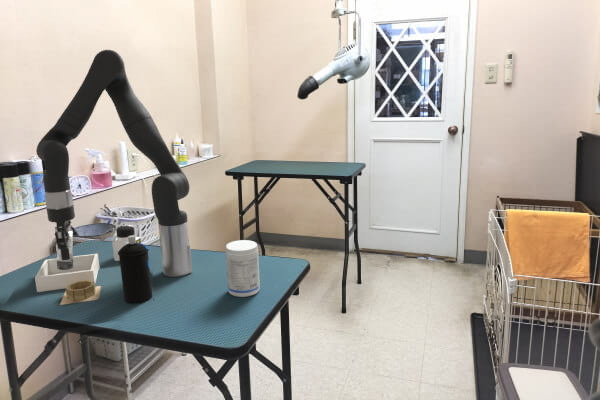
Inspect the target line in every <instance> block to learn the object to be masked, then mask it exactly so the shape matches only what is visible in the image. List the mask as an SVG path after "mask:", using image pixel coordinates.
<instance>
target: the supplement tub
mask: <svg viewBox="0 0 600 400" xmlns="http://www.w3.org/2000/svg"><path fill="white" fill-rule="evenodd" d="M259 259H260V258H259V247H258V243H257V242H255V241H253V240H249V239H241V240H238V239H237V240H234V241H233V240H232V241H231V242H228V243H227V244H226V245H225V263H226V264H225V265H226V277H227V290H228V293H229V294H230V295H231V296H233V297H238V298H245V297H246V298H247V297H250V296H254V295H256V294H257V293H258V292H260V289H261V286H260V285H261V284H260V265H259V264H260V263H259V262H260V260H259Z"/></svg>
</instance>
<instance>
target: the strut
mask: <svg viewBox="0 0 600 400" xmlns="http://www.w3.org/2000/svg"><path fill="white" fill-rule="evenodd" d="M69 237H70V240H69V241H68V246H69V254H70V259H69V260H62V257H61V250H60V249H58V246H57V245H56V246H57V247H56V248H57V249H56V252H57V253H56V256H57V257H56V258H57V269H60V270H68V269H71V268H73V254H74V251H73V250H74V231H73V229H72V228H71V229H70V231H69ZM66 238H67V236H66ZM61 245H64V243H61Z"/></svg>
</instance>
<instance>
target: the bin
mask: <svg viewBox="0 0 600 400" xmlns="http://www.w3.org/2000/svg"><path fill="white" fill-rule="evenodd" d="M99 260H100V259H99V254H98V253H92V254H84V255H83V254H82V255H76V256H75V255H74V256H73V268H71V269H68V270H60V269H57V257H56V258H49V259H45V260H44V261H43V263H42V265H41V266H40V268H39V270H38V272H37V273H36V275H35V277H34V280H35V288H36V292H37V293H41V292H48V291H56V290H62V289H63V290H64V289H66V287H67V285H69V284H71V283H73V282H77V281H82V280H90V281H94V283H95V284H96V282H97V276H98V273H99V270H100V268H101V267H100V261H99Z"/></svg>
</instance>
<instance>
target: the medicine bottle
mask: <svg viewBox="0 0 600 400" xmlns="http://www.w3.org/2000/svg"><path fill="white" fill-rule="evenodd" d="M115 232H116V238H117V239H116V240H114V241H112V243H111V244H112V251H113V259H114V261H116V262H120V259H119V255H118V251H119V250H120V249H121V248H122V247H123V246H125V245H126V244H128V243H129V241H128V236H131V235H134V236H135V237H136V242H137V243H141V244H142V240H141V237H140V236H136V234H135V232H136V231H135V226H134V225H132V224H124V225H120V226H118V227H116V231H115Z"/></svg>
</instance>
